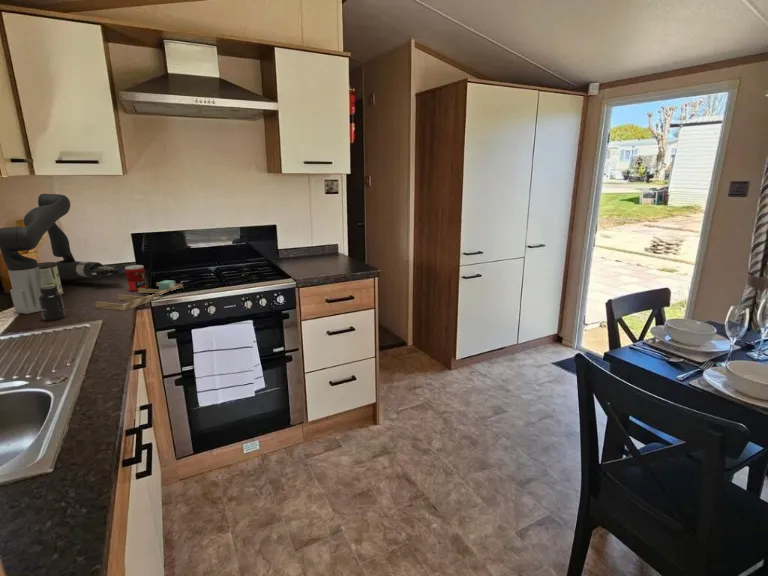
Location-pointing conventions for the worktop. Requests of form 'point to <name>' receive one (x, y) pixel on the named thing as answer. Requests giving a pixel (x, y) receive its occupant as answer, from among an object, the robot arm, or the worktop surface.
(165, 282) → the plain green block
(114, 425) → the worktop surface
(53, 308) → the supplement bottle
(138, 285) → the canned food
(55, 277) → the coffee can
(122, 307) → the bay rack
